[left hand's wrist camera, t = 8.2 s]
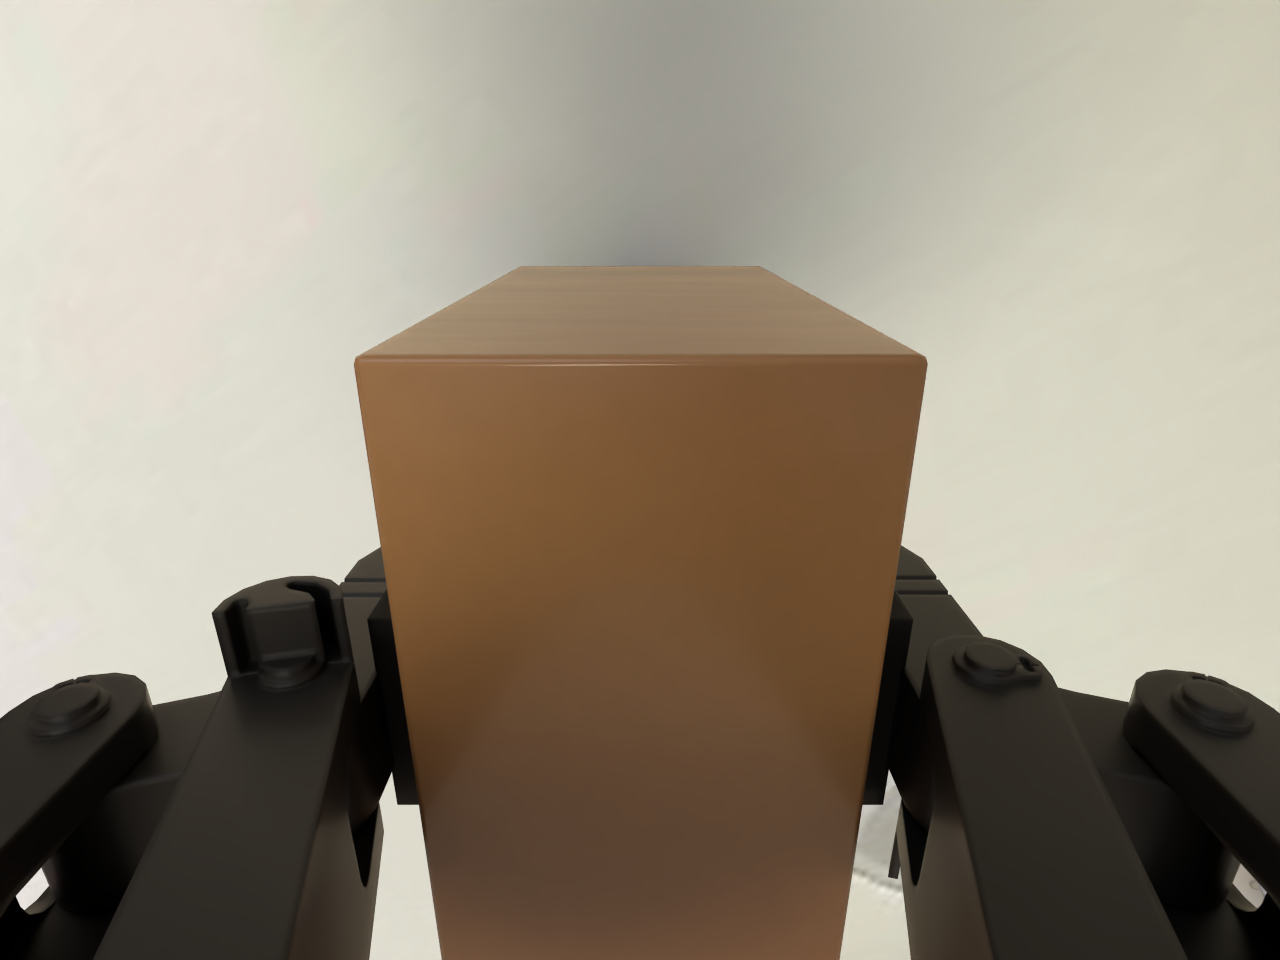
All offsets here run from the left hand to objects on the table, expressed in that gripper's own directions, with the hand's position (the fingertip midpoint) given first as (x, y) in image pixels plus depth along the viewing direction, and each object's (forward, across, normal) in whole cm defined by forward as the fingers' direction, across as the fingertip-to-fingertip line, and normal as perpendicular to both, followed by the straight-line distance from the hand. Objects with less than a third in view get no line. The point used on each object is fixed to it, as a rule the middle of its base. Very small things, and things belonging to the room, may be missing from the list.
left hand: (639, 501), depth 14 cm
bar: (+1, 0, -34) cm, 34 cm away
